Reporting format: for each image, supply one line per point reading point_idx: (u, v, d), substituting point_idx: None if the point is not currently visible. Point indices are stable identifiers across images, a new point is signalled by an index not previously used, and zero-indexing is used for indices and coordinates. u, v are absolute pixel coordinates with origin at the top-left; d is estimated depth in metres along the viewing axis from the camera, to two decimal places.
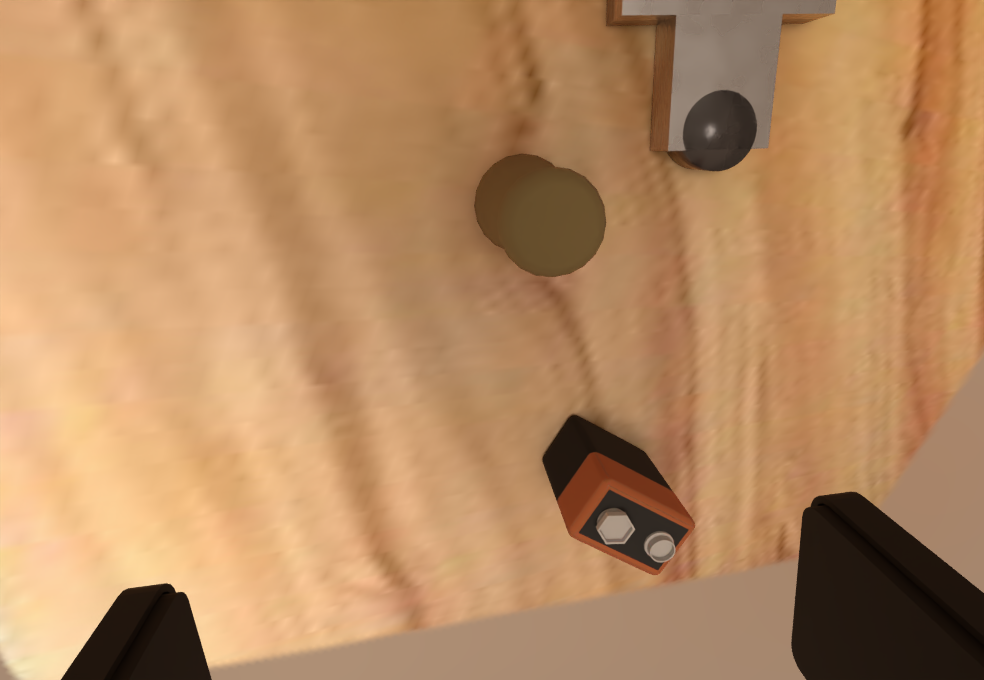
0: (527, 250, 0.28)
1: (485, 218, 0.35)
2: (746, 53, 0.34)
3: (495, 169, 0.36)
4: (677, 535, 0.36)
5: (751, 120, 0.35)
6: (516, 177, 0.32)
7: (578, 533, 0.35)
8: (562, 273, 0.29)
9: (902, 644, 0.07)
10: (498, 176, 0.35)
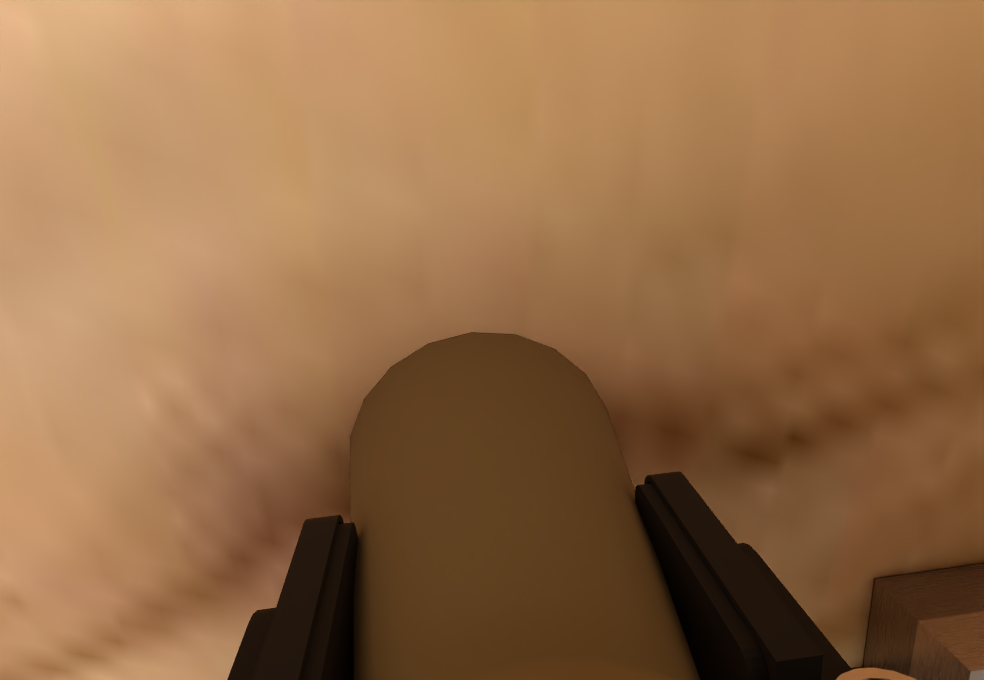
0: None
1: (457, 405, 0.10)
2: None
3: (589, 397, 0.12)
4: None
5: None
6: (654, 566, 0.08)
7: None
8: None
9: (685, 602, 0.08)
10: (595, 435, 0.11)
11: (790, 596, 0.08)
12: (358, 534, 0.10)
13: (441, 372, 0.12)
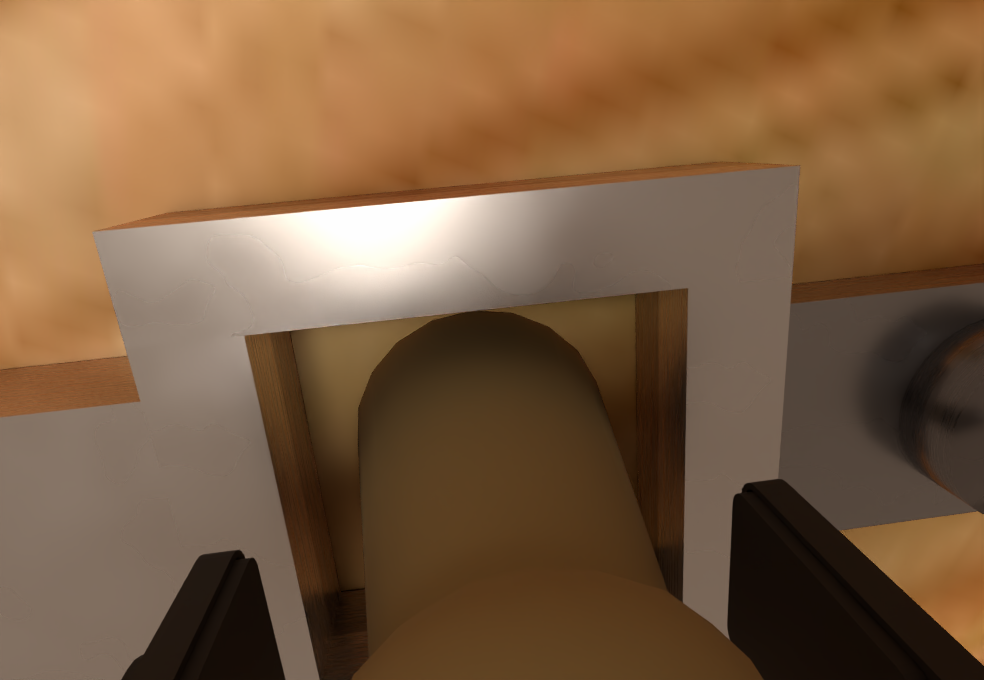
0: None
1: (458, 372, 0.12)
2: (92, 606, 0.12)
3: (580, 369, 0.13)
4: None
5: None
6: (633, 509, 0.09)
7: None
8: None
9: (809, 619, 0.08)
10: (584, 400, 0.12)
11: None
12: (369, 486, 0.11)
13: (443, 345, 0.13)
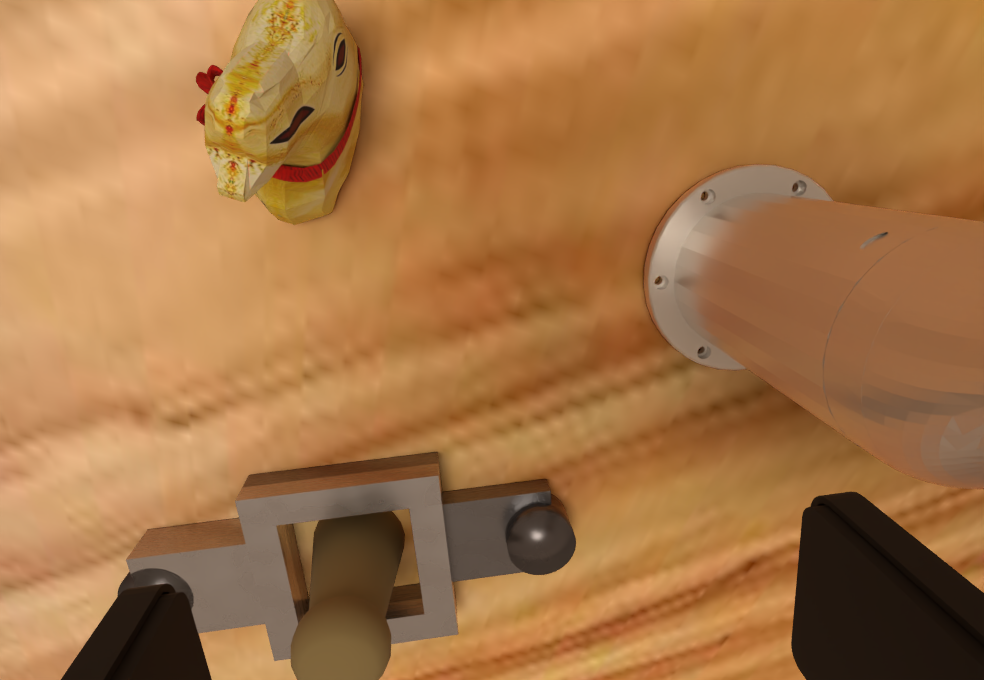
0: (312, 651, 0.30)
1: (341, 532, 0.38)
2: (227, 604, 0.38)
3: (388, 524, 0.39)
4: None
5: None
6: (380, 578, 0.35)
7: None
8: (295, 674, 0.31)
9: (902, 644, 0.07)
10: (381, 540, 0.38)
11: None
12: (312, 568, 0.37)
13: (340, 518, 0.39)
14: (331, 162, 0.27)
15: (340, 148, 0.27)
